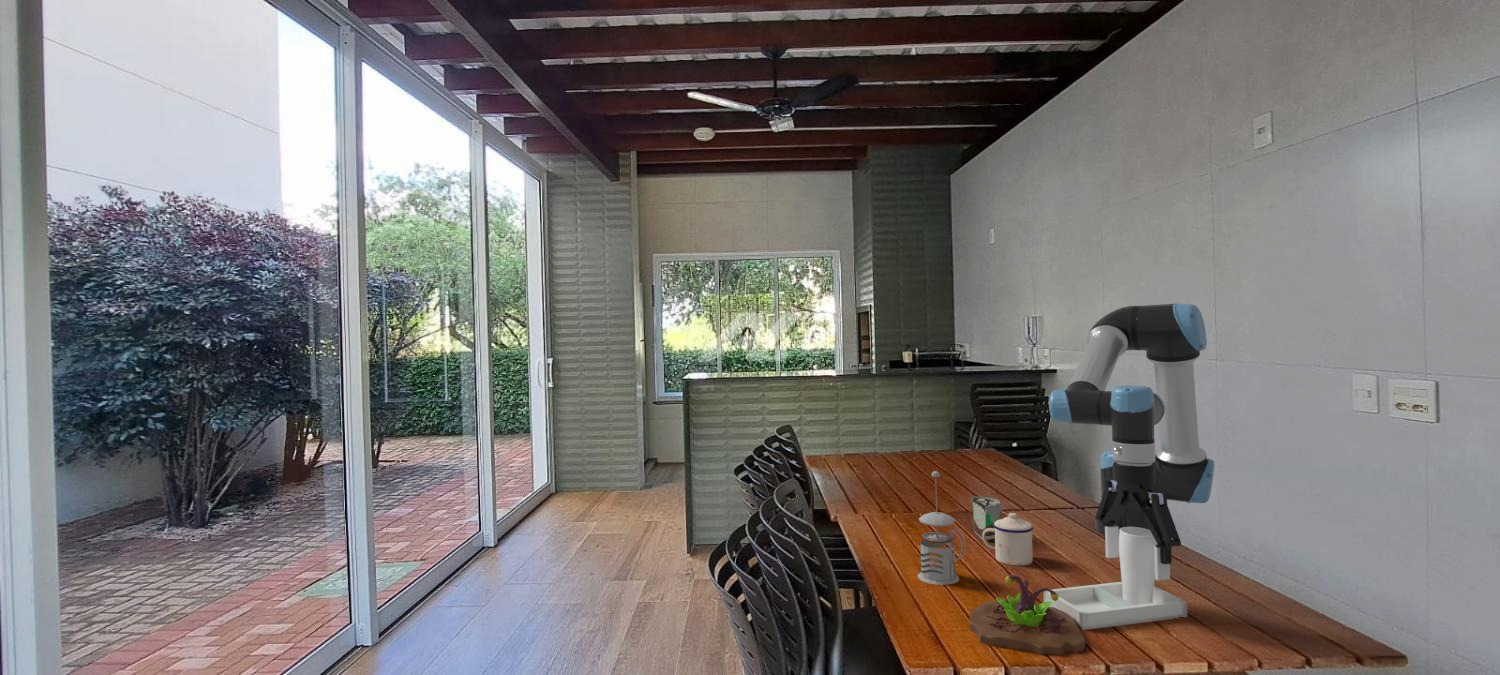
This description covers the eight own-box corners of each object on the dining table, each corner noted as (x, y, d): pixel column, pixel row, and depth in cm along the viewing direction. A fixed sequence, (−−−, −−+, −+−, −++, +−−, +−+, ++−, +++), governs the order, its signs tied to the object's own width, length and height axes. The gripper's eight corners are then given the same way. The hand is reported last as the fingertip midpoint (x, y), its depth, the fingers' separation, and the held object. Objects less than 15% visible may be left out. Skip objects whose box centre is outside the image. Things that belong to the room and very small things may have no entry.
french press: (930, 567, 163) (927, 465, 163) (975, 579, 155) (972, 471, 155) (908, 579, 156) (905, 472, 156) (954, 591, 148) (951, 478, 148)
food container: (1010, 543, 180) (1009, 506, 180) (987, 543, 180) (986, 506, 180) (994, 529, 192) (993, 495, 192) (972, 530, 192) (971, 495, 192)
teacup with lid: (1036, 557, 168) (1034, 511, 168) (1031, 568, 160) (1029, 520, 160) (986, 550, 174) (985, 506, 174) (979, 561, 166) (978, 514, 166)
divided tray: (1140, 596, 142) (1140, 579, 142) (1187, 619, 131) (1186, 601, 131) (1043, 607, 138) (1043, 590, 138) (1083, 632, 126) (1082, 613, 126)
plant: (967, 608, 139) (966, 555, 139) (1069, 617, 134) (1068, 561, 134) (972, 653, 120) (970, 591, 120) (1092, 665, 115) (1090, 599, 115)
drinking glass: (1156, 615, 131) (1157, 539, 130) (1117, 607, 134) (1117, 533, 134) (1157, 602, 137) (1157, 529, 136) (1119, 595, 140) (1119, 524, 140)
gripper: (1076, 453, 147) (1078, 550, 147) (1166, 475, 123) (1169, 592, 123) (1106, 451, 148) (1108, 547, 148) (1201, 473, 124) (1204, 588, 124)
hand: (1136, 567), depth 135 cm, fingers open, 13 cm apart
